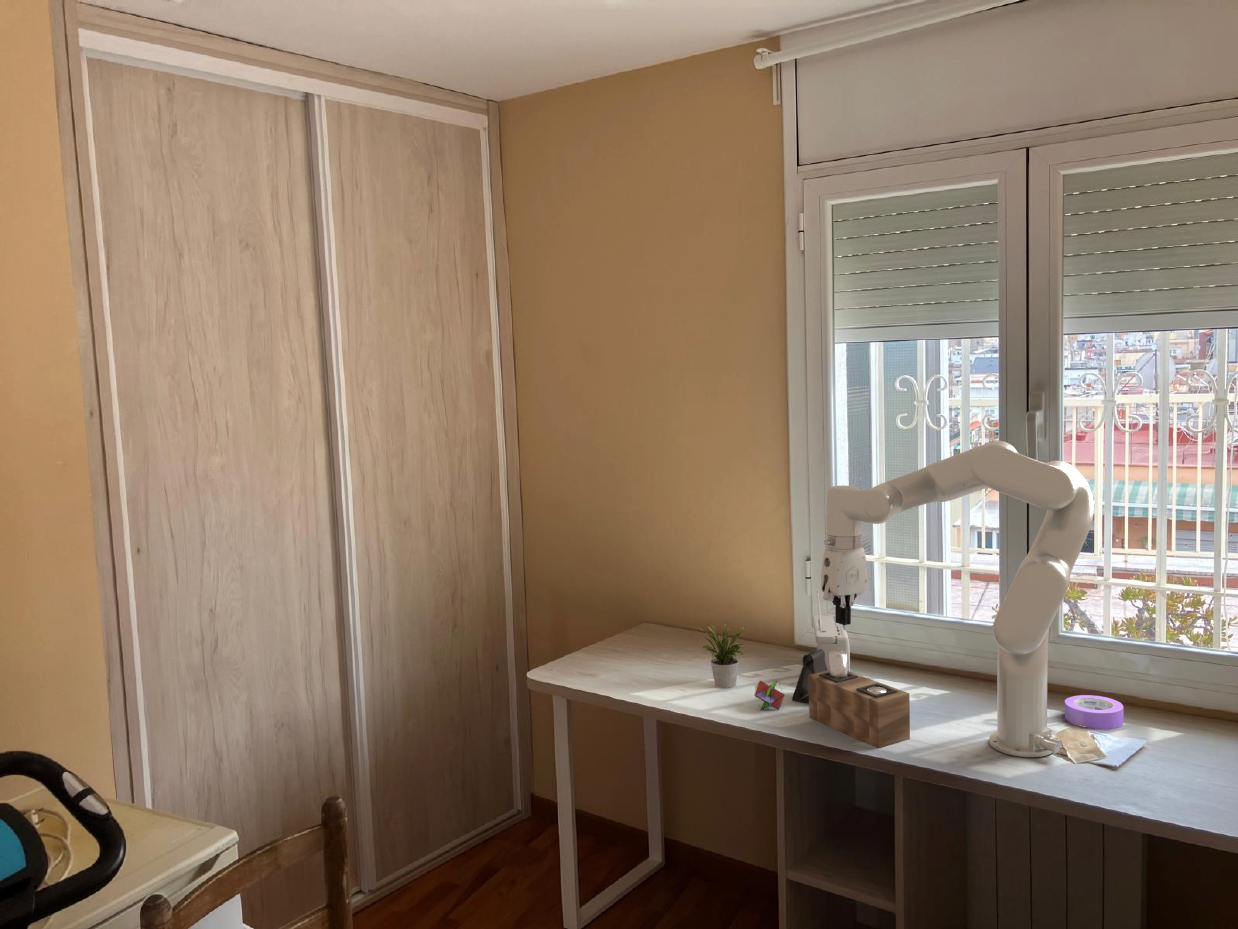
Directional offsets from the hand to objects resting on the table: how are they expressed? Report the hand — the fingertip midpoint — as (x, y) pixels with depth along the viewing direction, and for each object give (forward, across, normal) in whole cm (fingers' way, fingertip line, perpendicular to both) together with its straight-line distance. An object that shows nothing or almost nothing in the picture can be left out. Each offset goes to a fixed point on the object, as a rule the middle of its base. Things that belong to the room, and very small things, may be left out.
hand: (843, 623), depth 219 cm
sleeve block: (+23, 0, -4) cm, 23 cm away
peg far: (+17, +1, +2) cm, 17 cm away
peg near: (+21, 0, -10) cm, 24 cm away
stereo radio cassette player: (+24, +21, +26) cm, 41 cm away
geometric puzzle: (+24, -7, +17) cm, 30 cm away
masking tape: (+22, +45, -31) cm, 59 cm away
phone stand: (+23, +5, +15) cm, 28 cm away
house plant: (+24, -7, +37) cm, 44 cm away
